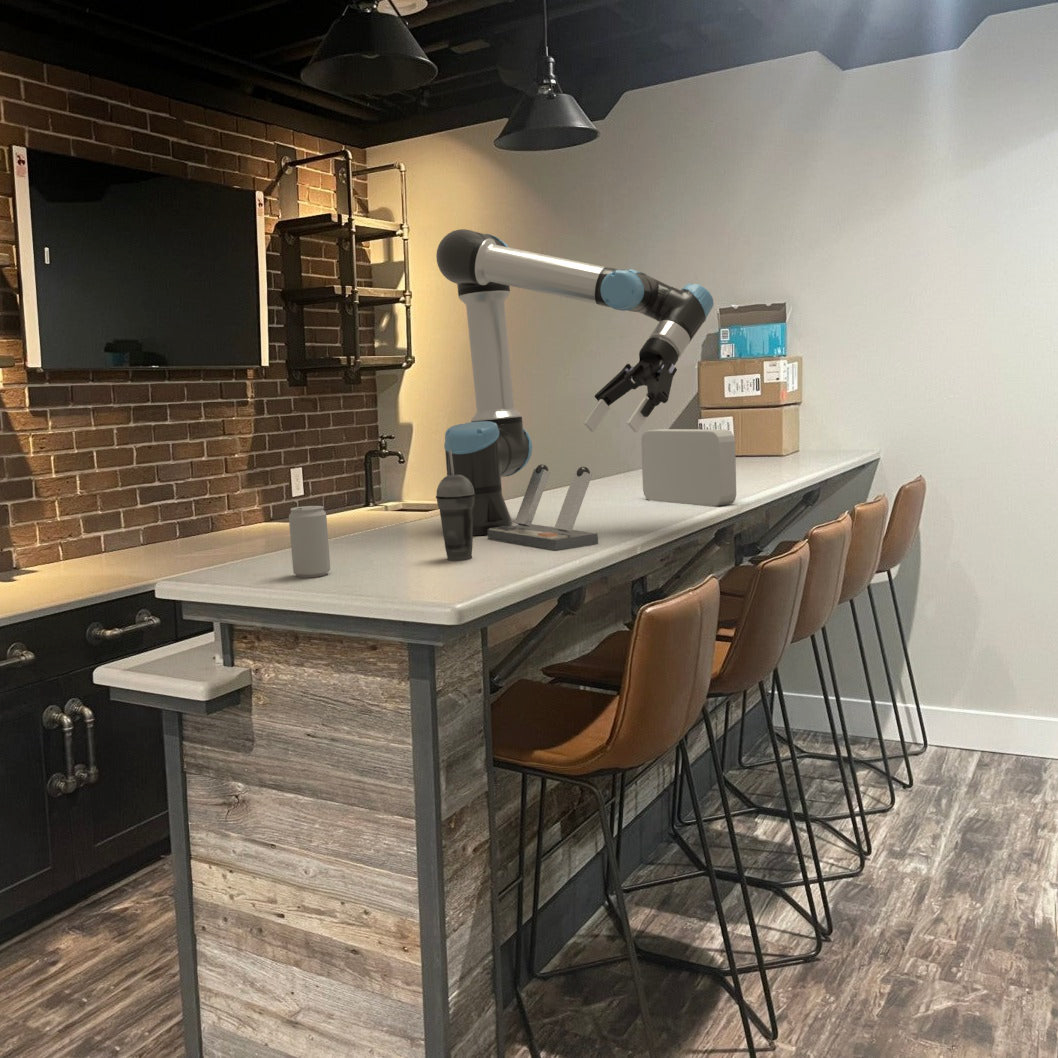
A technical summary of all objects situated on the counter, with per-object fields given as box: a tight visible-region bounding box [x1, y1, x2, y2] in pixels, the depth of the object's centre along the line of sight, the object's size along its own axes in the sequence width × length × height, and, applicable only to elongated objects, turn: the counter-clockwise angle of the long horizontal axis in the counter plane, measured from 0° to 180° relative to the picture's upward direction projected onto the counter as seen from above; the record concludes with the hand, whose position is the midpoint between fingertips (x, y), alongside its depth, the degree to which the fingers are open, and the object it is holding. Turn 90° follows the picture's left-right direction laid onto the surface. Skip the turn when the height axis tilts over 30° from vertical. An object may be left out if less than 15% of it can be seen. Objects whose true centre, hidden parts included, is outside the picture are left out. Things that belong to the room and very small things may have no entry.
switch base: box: [487, 523, 599, 552], centre depth 206 cm, size 10×24×3 cm, turn 34°
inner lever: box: [514, 463, 551, 527], centre depth 212 cm, size 3×4×13 cm
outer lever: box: [554, 466, 593, 533], centre depth 201 cm, size 3×4×13 cm
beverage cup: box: [435, 450, 475, 562], centre depth 189 cm, size 7×7×20 cm
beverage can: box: [288, 505, 331, 579], centre depth 180 cm, size 6×6×12 cm
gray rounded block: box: [640, 428, 737, 507], centre depth 257 cm, size 29×8×18 cm, turn 33°
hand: (609, 427), depth 204 cm, fingers open, 13 cm apart
